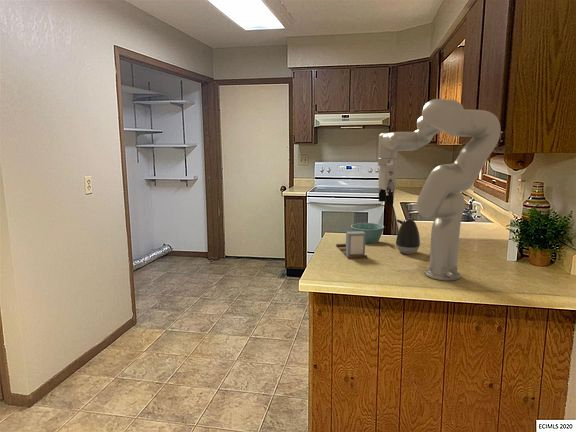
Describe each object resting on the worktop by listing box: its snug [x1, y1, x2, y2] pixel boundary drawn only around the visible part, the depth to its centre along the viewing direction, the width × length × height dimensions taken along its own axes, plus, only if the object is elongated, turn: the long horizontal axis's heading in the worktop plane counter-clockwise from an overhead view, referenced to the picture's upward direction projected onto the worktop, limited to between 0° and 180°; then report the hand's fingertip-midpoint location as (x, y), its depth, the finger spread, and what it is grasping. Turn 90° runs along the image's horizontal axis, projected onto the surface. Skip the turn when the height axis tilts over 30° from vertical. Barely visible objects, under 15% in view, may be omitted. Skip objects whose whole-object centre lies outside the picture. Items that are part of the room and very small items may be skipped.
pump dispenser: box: [395, 218, 421, 255], centre depth 183 cm, size 10×10×15 cm
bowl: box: [350, 222, 385, 244], centre depth 202 cm, size 16×16×8 cm
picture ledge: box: [335, 243, 368, 260], centre depth 180 cm, size 20×8×2 cm, turn 7°
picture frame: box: [345, 231, 366, 258], centre depth 173 cm, size 4×7×10 cm, turn 97°
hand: (385, 203), depth 178 cm, fingers open, 9 cm apart
